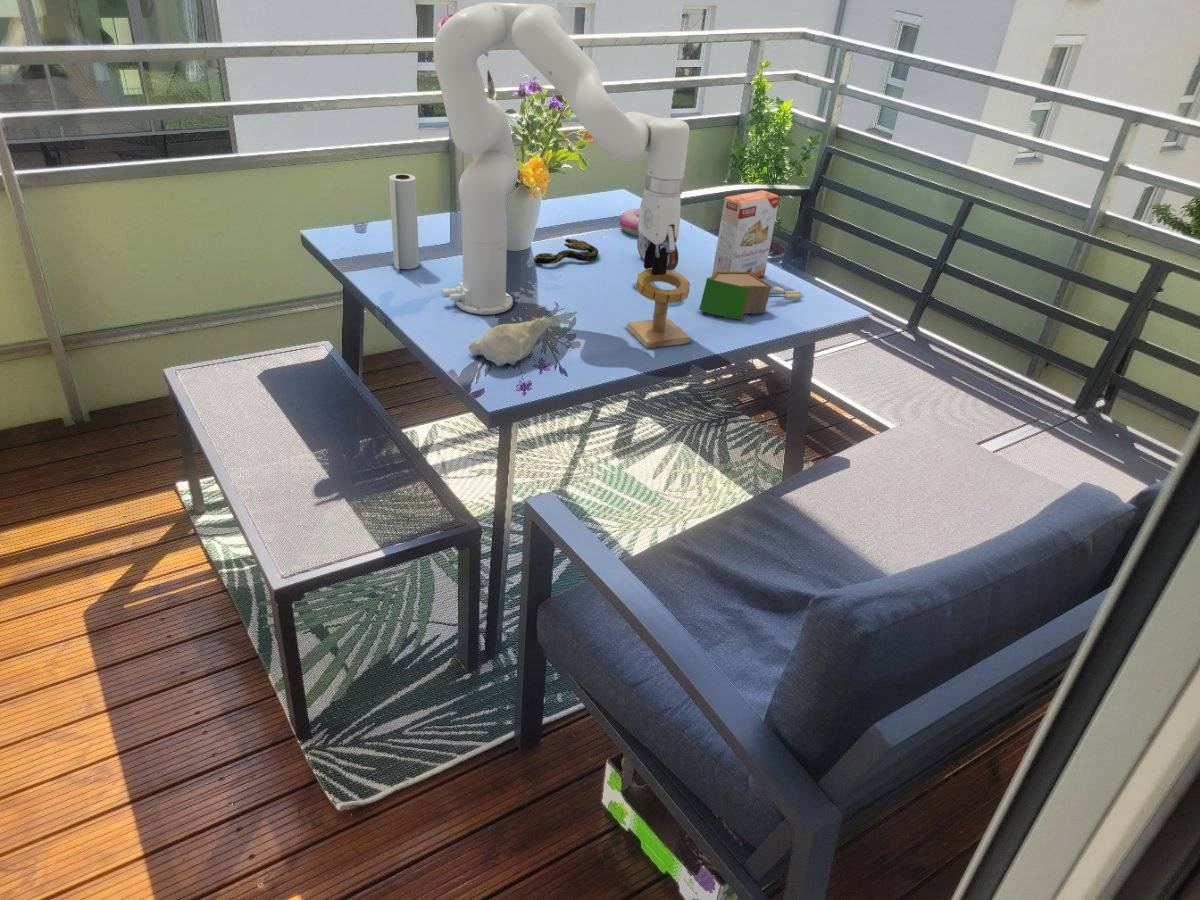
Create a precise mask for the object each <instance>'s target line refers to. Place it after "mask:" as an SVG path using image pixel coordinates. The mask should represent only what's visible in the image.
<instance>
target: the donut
mask: <svg viewBox="0 0 1200 900" xmlns="http://www.w3.org/2000/svg"><path fill="white" fill-rule="evenodd" d="M639 211H640V208H632V209H628V210H626V211H625V212H623V213H621V216H620V217H619V226H620V228H621V229H622V230H623V231H624V232H625V233H627V234H629V235H632V236H635V237H638V234H639V230H638V221H639V214H638V212H639Z"/></svg>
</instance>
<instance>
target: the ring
mask: <svg viewBox="0 0 1200 900" xmlns="http://www.w3.org/2000/svg"><path fill="white" fill-rule="evenodd" d="M651 272H652V268H651V269H647V270H643V271H641V272H639V273H638V274H637V278H636V284H635V286H636V288H635V290H636V291H637V292H638V293H639V294H640V296H642V297H644V298H646V299H648V300H650V301H654V302H655V301H657V302H662V303H666V302H667V303H668V304H676V303H681V302H682V301H684V300H686V299H687V298H688V297H689V293H690V288H691V282H690V281H689V280H688V279H687V277H685V276H684V275H683V274H680V273H678V272H676V271H673V270H666V274H662V275H652V273H651ZM650 282H654V283H655V282H661V283H667V284H670V285H671V286H673V287H675V289H674V288H673V289H664V288H659V287H656V286H655V287H654V286H652V285H650V284H649V283H650Z"/></svg>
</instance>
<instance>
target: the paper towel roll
mask: <svg viewBox="0 0 1200 900" xmlns="http://www.w3.org/2000/svg"><path fill="white" fill-rule="evenodd" d="M388 180H389V198H390V216H391V217H390V219H391V235H392V236H391V237H392V255H393V257H392V258H393V266H394V268H395V270H397V271H398V272H400V270H413V269H416V268H418V267H419V266H420V251H419V250H420V249H419V224H418V201H417V199H418V198H417V197H418V196H417V177H416V176H415V175H413V174H409V173H393V174H391V175H389V176H388Z"/></svg>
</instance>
